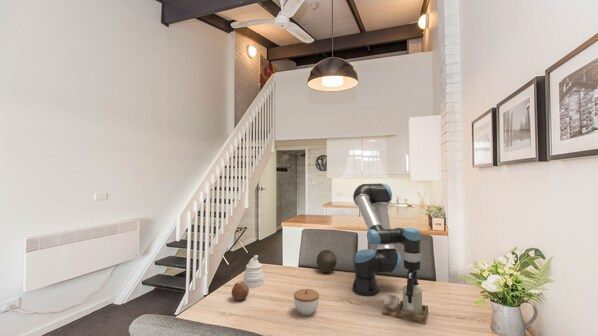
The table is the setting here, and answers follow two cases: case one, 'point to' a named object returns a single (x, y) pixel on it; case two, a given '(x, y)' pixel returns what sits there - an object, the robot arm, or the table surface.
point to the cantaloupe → (326, 260)
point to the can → (416, 301)
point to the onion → (240, 291)
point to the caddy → (396, 310)
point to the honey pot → (254, 273)
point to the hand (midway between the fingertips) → (412, 303)
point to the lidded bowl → (306, 301)
